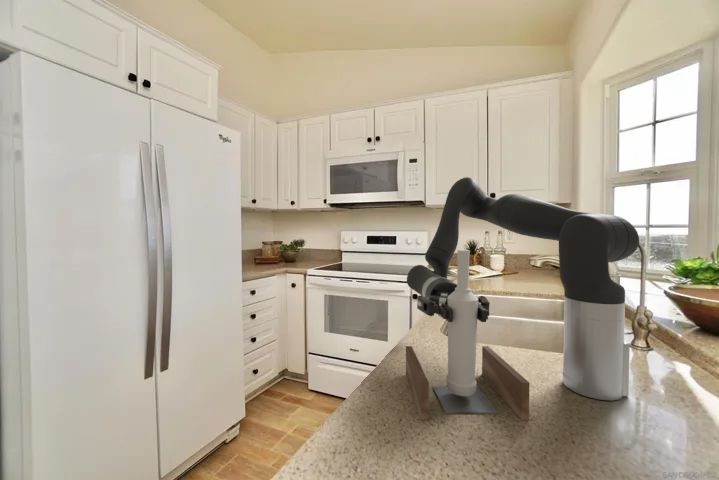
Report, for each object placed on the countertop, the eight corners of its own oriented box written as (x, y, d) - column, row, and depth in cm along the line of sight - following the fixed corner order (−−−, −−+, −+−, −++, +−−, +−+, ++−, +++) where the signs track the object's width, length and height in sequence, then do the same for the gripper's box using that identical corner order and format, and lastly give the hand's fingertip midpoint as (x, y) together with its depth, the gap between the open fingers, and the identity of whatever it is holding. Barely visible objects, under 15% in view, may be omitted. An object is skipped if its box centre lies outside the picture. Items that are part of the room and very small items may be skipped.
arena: (487, 374, 66) (488, 346, 66) (528, 419, 50) (529, 382, 50) (405, 374, 66) (406, 346, 66) (421, 420, 50) (421, 382, 50)
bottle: (478, 398, 53) (481, 251, 52) (447, 395, 54) (449, 250, 53) (474, 383, 58) (476, 249, 57) (445, 381, 60) (447, 248, 59)
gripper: (409, 278, 70) (425, 294, 53) (474, 278, 70) (510, 294, 53) (409, 311, 70) (425, 338, 53) (473, 311, 70) (509, 338, 53)
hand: (467, 316), depth 53 cm, fingers closed on bottle, 5 cm apart
